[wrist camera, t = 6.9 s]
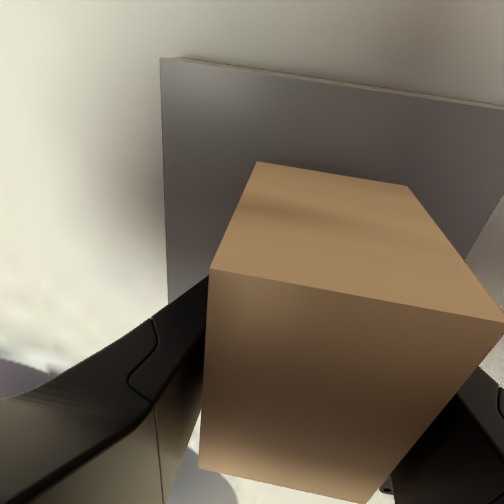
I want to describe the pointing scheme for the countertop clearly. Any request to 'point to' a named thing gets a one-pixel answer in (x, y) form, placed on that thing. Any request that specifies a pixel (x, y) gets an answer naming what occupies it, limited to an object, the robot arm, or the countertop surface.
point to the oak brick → (333, 332)
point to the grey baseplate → (314, 150)
